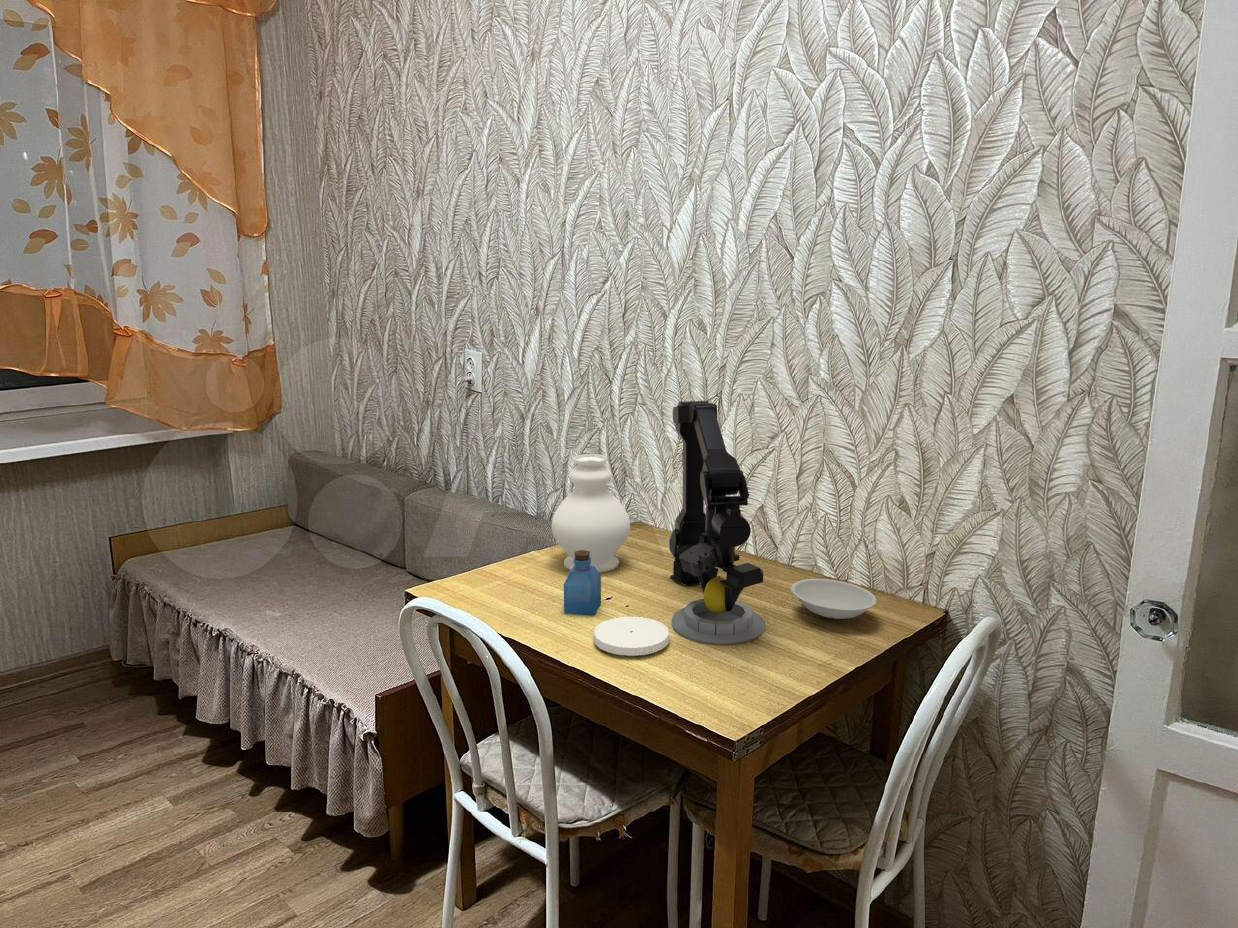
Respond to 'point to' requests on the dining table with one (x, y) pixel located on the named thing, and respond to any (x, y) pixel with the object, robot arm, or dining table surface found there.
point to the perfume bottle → (582, 587)
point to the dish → (833, 598)
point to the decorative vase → (591, 516)
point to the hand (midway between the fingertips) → (718, 605)
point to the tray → (718, 639)
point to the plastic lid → (631, 636)
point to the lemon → (715, 596)
